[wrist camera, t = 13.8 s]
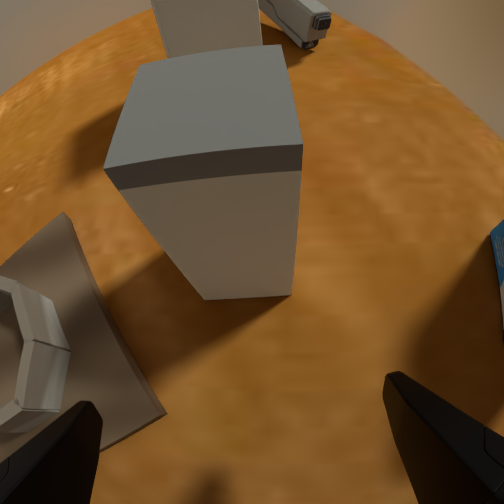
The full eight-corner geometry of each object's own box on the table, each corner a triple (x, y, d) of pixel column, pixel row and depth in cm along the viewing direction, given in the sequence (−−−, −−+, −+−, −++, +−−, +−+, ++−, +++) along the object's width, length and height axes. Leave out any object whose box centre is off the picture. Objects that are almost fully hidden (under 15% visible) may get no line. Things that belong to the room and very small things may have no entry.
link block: (291, 295, 18) (302, 143, 7) (204, 299, 18) (103, 168, 7) (284, 218, 20) (280, 44, 9) (206, 224, 20) (139, 65, 9)
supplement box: (268, 94, 25) (257, -39, 14) (186, 118, 25) (144, -14, 13) (243, 57, 28) (228, -50, 17) (174, 77, 28) (141, -29, 16)
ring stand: (167, 413, 16) (130, 419, 11) (17, 491, 13) (-25, 498, 8) (70, 219, 22) (37, 185, 17) (-40, 322, 19) (-76, 306, 15)
